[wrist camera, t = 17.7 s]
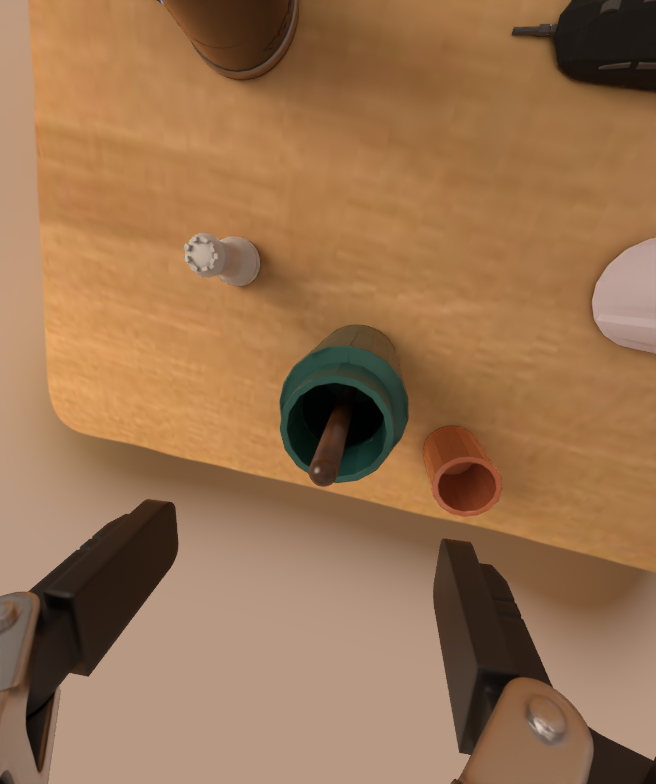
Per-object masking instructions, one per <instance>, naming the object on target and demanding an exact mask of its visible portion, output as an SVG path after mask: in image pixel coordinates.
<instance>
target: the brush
mask: <svg viewBox="0 0 656 784" xmlns="http://www.w3.org/2000/svg"><path fill="white" fill-rule="evenodd" d="M357 390H358V388H356V387H353V386H349V385H344V384H343V385H342V388H341V390H340V393H339V395H338V398H337V400H336V403H335V405H334V408H333V410H332V413H331V415H330V418H329V420H328V423H327V425H326V428H325V430H324V433H323V435H322V437H321V440H320V442H319V445H318V447H317V450H316V452H315V455H314V457H313V460H312V462H311V465H310V468H309V476H310V478H311V480H312V481H313V482H314V483H315V484H316V485H318V486H322V487H324V486H329V485H331V484H332V483H333V482H334V481H335V480H336V478H337V476H338V471H339V467H340V463H341V459H342V454H343V450H344V446H345V441H346V437H347V433H348V429H349V424H350V420H351V416H352V411H353V407H354V403H355V399H356V394H357Z"/></svg>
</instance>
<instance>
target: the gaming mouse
mask: <svg viewBox="0 0 656 784" xmlns="http://www.w3.org/2000/svg"><path fill="white" fill-rule="evenodd" d="M512 34H537V36H547V34H549V36H553V35H554V34H555V38H554V39H555V48H556V55H557V62H558V67H559V68H561V69H562V70H563V71H564V72H566V73H567V74H568V75H570V76H571V77H572V78H573V79H577V80H583V81H588V82H593V83H600V84H609V85H618V86H625V87H631V88H638V89H644V90H656V0H572V1H571V2H570V4H569V5H568V6H567V7H566V9H565V10H564V11H563V12H562V14H561V15H560V18H559V22H558V26H557V24H555V25H552V26H550V24H540V26H539V27H514V28H513V32H512Z"/></svg>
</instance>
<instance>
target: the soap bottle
mask: <svg viewBox="0 0 656 784" xmlns="http://www.w3.org/2000/svg"><path fill="white" fill-rule="evenodd" d="M592 308H593V316H594V320H595V322H596V324H597V325H598V327H599V329H600V330H601V332H602V334H603V335H604V336H606V337H607V338H609V339H610V340H611V341H613V342H614V343H616V344H617V345H620V346H624V347H629V348H633V349H637V350H641V351H646V352H650V353H655V354H656V238H652V239H647V240H645V241H643V242H641V243H639V244H636V245H634V246H632V247H630V248H628V249H626V250H625V251H624V252H622V253H621V254H620V255H619V256H618V257H617V258H615V259H614V260H613V261H612V262H611V263H610V264H609V265H608V266H607V267H606V269H605V270H604V272H603V274H602V275H601V277H600V278H599V280H598V281H597V283H596V286H595V290H594V294H593V298H592Z"/></svg>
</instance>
